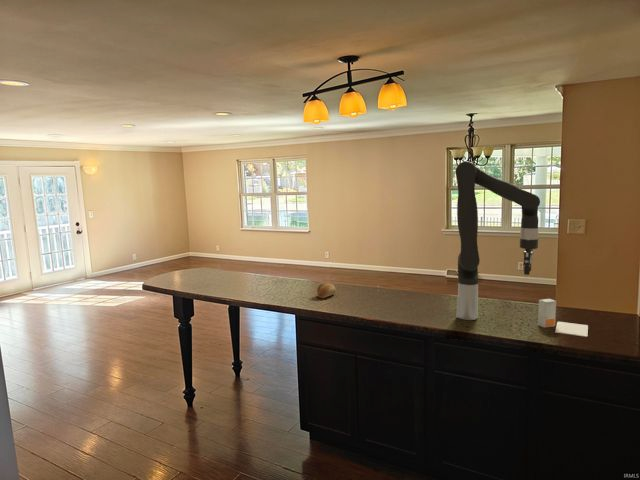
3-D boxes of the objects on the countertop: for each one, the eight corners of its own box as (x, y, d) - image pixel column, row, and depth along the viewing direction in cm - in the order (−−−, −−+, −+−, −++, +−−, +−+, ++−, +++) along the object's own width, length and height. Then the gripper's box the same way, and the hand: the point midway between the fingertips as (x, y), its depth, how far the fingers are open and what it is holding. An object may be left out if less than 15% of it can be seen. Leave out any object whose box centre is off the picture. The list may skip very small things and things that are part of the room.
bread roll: (313, 298, 253) (312, 285, 252) (325, 292, 266) (324, 280, 265) (327, 300, 248) (327, 286, 247) (339, 294, 261) (338, 281, 260)
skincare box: (544, 328, 193) (545, 302, 191) (537, 325, 197) (538, 299, 195) (555, 326, 195) (556, 300, 193) (548, 323, 199) (549, 298, 197)
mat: (555, 332, 187) (555, 331, 187) (557, 322, 200) (557, 321, 200) (587, 337, 181) (587, 336, 180) (587, 326, 194) (588, 325, 194)
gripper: (521, 235, 204) (520, 269, 206) (518, 239, 192) (516, 274, 194) (539, 236, 200) (537, 270, 202) (537, 240, 188) (535, 276, 190)
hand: (527, 272), depth 198 cm, fingers open, 8 cm apart
